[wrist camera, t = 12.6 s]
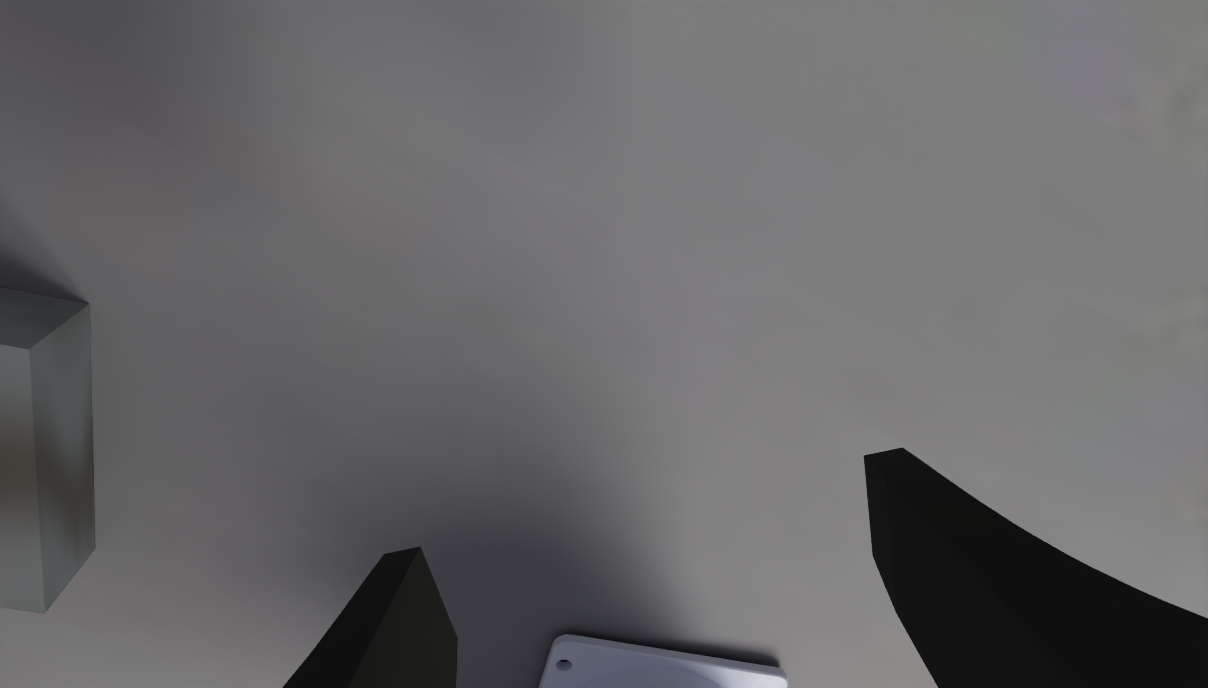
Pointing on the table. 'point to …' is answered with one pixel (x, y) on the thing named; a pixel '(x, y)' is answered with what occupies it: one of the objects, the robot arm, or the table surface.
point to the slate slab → (44, 447)
